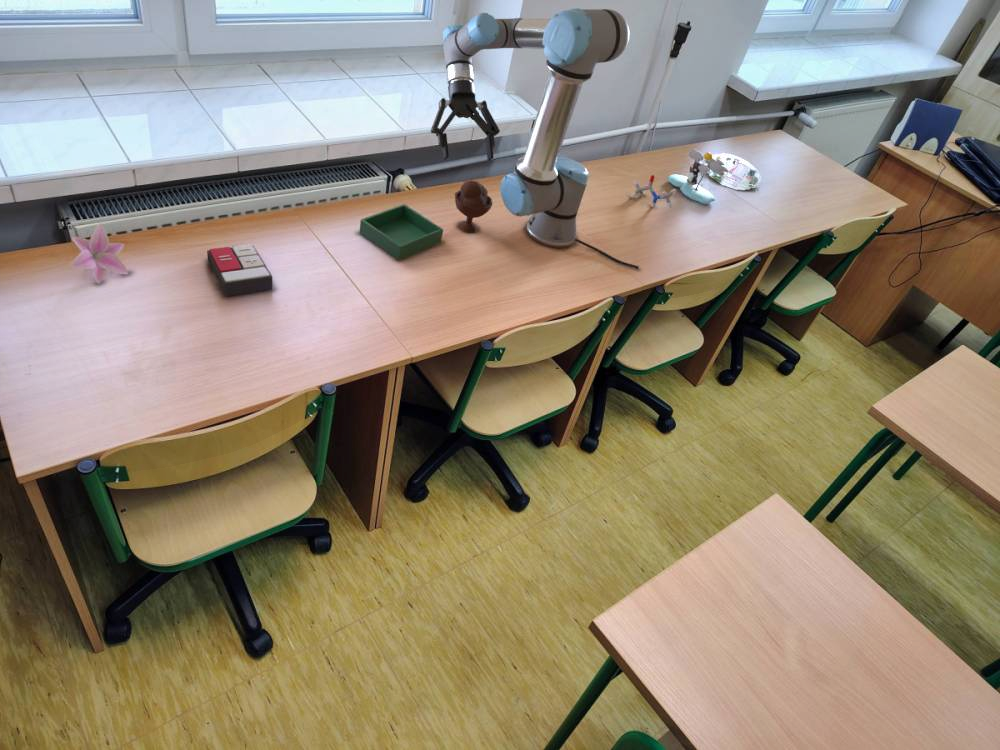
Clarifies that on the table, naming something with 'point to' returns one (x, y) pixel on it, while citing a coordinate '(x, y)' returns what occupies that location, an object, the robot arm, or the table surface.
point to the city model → (736, 172)
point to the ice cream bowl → (472, 203)
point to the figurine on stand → (690, 183)
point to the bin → (401, 231)
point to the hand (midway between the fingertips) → (468, 158)
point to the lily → (98, 254)
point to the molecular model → (653, 192)
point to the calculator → (239, 270)
